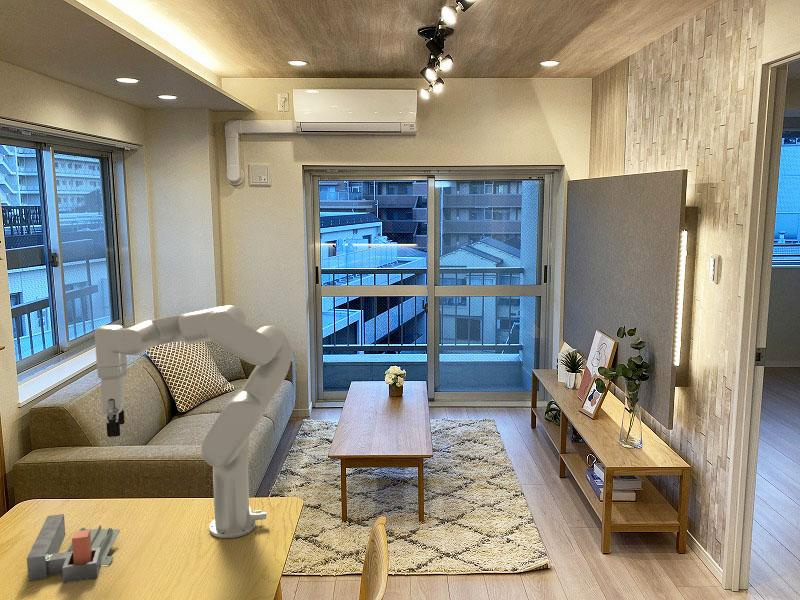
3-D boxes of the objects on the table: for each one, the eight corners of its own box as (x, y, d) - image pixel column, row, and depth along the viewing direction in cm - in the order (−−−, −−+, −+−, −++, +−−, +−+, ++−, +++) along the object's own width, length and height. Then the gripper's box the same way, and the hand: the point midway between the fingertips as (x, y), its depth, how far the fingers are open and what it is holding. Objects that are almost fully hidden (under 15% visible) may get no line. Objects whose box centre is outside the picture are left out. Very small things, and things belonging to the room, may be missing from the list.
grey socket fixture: (111, 528, 182) (110, 508, 181) (97, 578, 158) (95, 555, 157) (49, 536, 178) (47, 515, 177) (25, 588, 154) (23, 565, 153)
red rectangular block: (92, 566, 163) (90, 529, 162) (90, 574, 160) (87, 536, 158) (77, 568, 162) (74, 531, 161) (74, 576, 159) (71, 538, 157)
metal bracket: (72, 521, 175) (127, 521, 175) (76, 537, 177) (131, 538, 177) (45, 564, 162) (105, 564, 162) (51, 580, 164) (110, 580, 164)
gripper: (102, 363, 184) (106, 421, 187) (92, 379, 168) (96, 442, 170) (130, 361, 186) (134, 418, 189) (123, 377, 170) (127, 439, 172)
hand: (116, 430), depth 180 cm, fingers open, 9 cm apart
